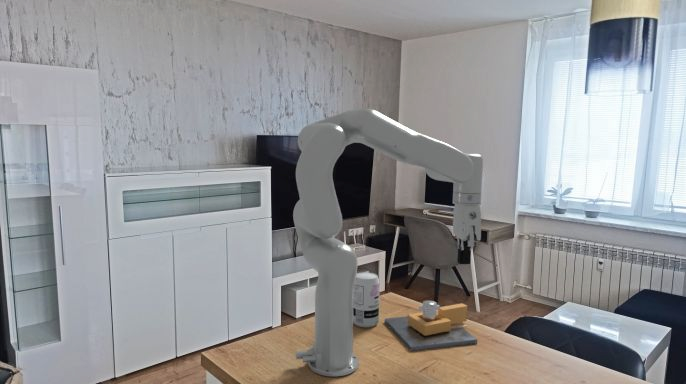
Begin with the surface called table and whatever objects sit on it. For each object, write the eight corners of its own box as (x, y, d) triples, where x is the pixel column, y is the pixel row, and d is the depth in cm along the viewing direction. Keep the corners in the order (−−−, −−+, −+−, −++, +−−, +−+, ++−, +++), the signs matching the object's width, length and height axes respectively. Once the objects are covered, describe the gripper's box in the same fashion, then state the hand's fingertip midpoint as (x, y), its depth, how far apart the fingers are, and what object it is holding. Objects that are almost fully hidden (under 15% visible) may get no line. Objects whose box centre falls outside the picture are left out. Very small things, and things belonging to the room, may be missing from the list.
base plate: (411, 351, 124) (412, 319, 123) (384, 322, 143) (385, 294, 142) (482, 342, 130) (484, 311, 129) (448, 316, 149) (449, 288, 148)
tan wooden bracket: (473, 325, 138) (474, 309, 137) (425, 335, 130) (425, 318, 130) (454, 315, 146) (455, 299, 145) (407, 323, 138) (408, 307, 138)
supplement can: (353, 317, 147) (354, 271, 145) (379, 318, 146) (380, 272, 144) (350, 327, 139) (351, 278, 137) (377, 329, 138) (379, 280, 136)
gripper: (491, 202, 121) (487, 271, 123) (470, 195, 135) (467, 256, 138) (463, 202, 120) (460, 271, 122) (445, 195, 135) (442, 256, 137)
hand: (463, 263), depth 130 cm, fingers closed
